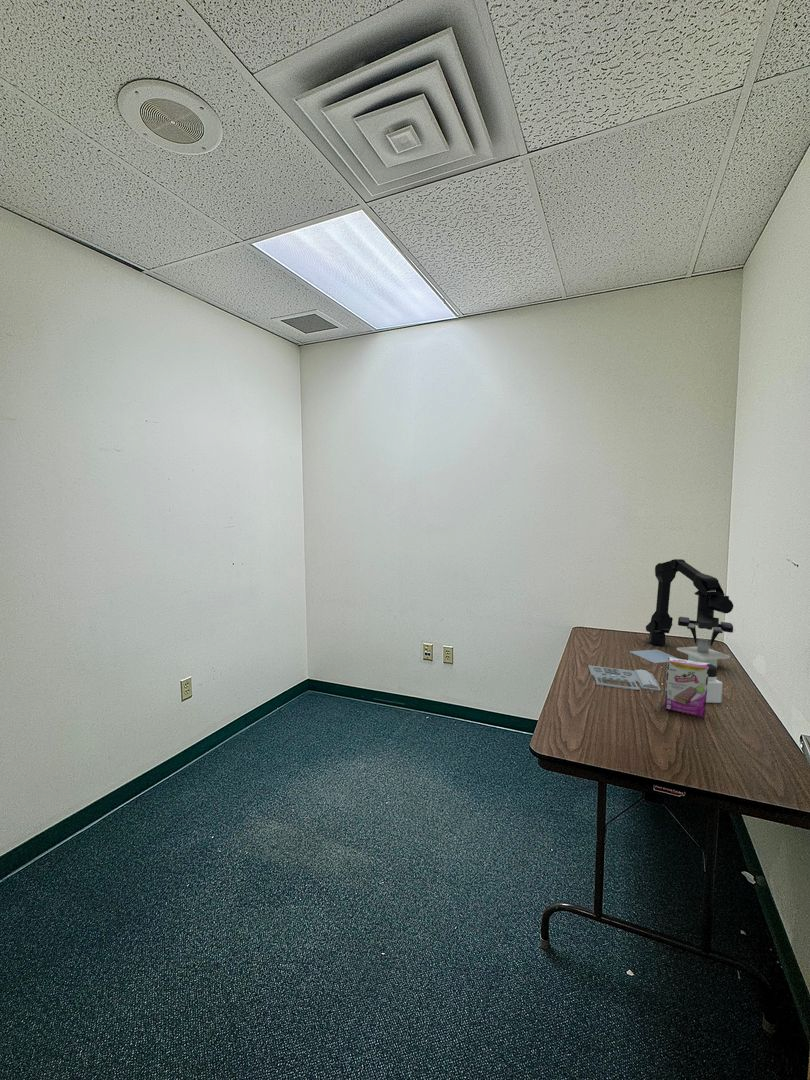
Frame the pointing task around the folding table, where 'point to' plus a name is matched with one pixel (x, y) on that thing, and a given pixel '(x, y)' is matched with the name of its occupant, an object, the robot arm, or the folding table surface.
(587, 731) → the folding table surface
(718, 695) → the medicine bottle
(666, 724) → the folding table surface
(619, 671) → the office telephone
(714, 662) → the bowl
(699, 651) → the lid
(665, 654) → the mat
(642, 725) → the folding table surface
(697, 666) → the candy bar box
